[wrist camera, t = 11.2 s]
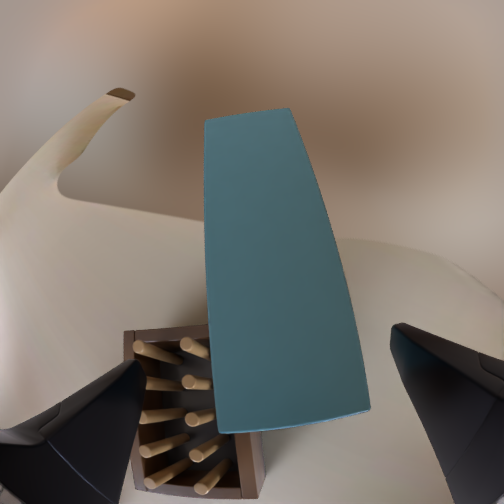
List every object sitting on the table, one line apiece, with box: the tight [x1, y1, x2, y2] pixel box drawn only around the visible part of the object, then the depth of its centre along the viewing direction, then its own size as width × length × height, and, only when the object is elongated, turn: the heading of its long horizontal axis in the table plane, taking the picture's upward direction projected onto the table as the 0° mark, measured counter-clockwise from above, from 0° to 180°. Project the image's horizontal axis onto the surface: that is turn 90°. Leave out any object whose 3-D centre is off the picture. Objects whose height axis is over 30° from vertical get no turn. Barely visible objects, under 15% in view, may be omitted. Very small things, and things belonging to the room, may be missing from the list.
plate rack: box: [124, 324, 266, 499], centre depth 14 cm, size 10×7×6 cm
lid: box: [204, 108, 371, 434], centre depth 12 cm, size 8×4×14 cm, turn 6°
